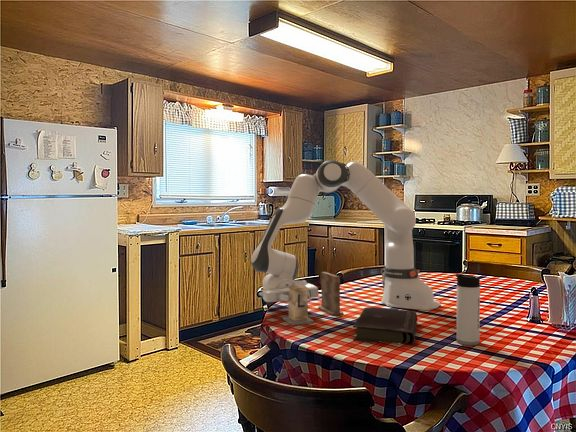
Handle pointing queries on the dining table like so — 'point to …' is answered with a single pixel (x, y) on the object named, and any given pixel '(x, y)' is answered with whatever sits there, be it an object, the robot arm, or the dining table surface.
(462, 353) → the dining table surface
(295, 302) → the tan boxy piece
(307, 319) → the slate coaster
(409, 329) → the diary
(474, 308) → the travel mug
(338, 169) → the robot arm
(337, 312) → the screen
